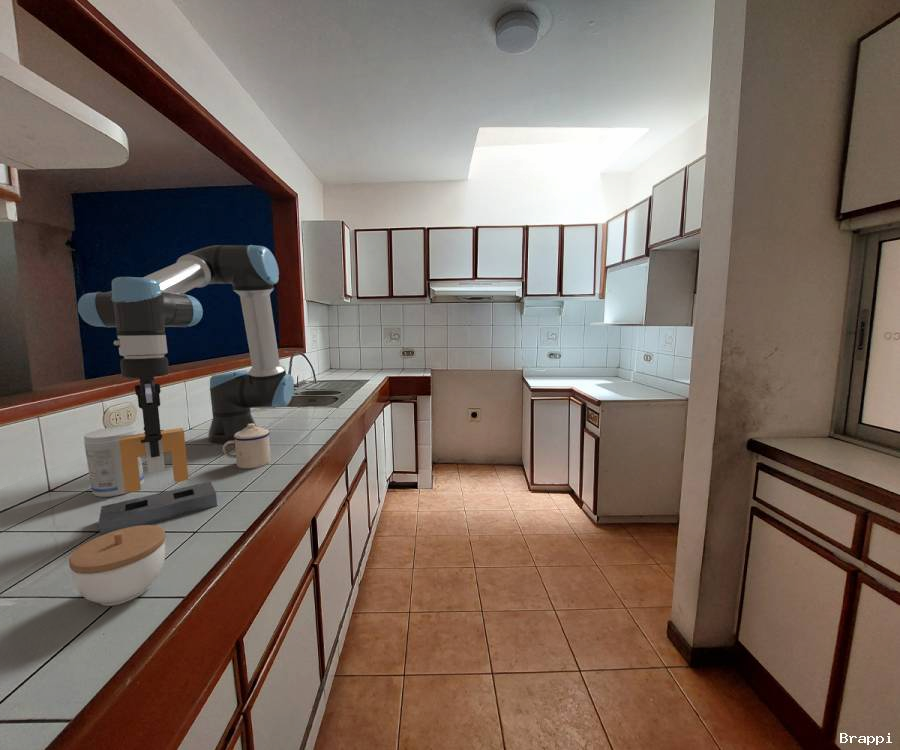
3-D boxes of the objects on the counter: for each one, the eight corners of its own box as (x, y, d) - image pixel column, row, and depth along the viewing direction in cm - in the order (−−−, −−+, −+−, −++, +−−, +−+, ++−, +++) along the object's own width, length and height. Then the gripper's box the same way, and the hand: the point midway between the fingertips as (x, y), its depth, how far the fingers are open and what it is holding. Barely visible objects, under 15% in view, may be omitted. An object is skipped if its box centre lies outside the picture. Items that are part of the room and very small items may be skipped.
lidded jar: (107, 573, 61) (100, 519, 59) (182, 563, 63) (176, 511, 62) (55, 625, 50) (44, 560, 49) (147, 611, 53) (139, 549, 51)
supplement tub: (136, 478, 98) (129, 423, 96) (151, 486, 93) (144, 429, 91) (86, 492, 90) (77, 432, 88) (99, 502, 85) (90, 439, 83)
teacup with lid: (272, 456, 114) (270, 418, 112) (269, 466, 105) (267, 426, 104) (227, 461, 110) (224, 422, 108) (220, 472, 101) (217, 431, 99)
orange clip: (187, 475, 83) (182, 427, 82) (188, 480, 81) (183, 430, 79) (125, 488, 77) (119, 436, 75) (125, 493, 74) (118, 440, 73)
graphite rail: (103, 520, 77) (101, 506, 77) (211, 493, 89) (210, 481, 89) (100, 537, 71) (98, 522, 70) (217, 505, 83) (216, 492, 82)
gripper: (120, 355, 79) (133, 461, 82) (117, 360, 67) (132, 485, 70) (165, 353, 84) (175, 454, 87) (170, 358, 71) (181, 475, 75)
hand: (156, 468), depth 78 cm, fingers closed on orange clip, 3 cm apart
